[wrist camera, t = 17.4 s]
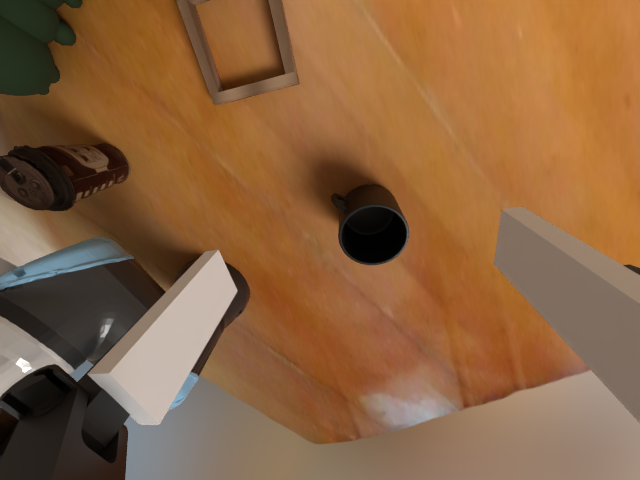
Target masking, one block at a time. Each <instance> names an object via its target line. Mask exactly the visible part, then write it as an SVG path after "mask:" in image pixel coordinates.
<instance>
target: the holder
mask: <svg viewBox="0 0 640 480" xmlns="http://www.w3.org/2000/svg"><path fill="white" fill-rule="evenodd" d="M176 1H177V4H178V7H179V10H180V12H181V15H182V18H183V21H184V24H185V26H186V29H187V32H188V35H189V37H190V40H191V43H192V46H193V48H194V51H195V54H196V57H197V60H198V62H199V65H200V68H201V71H202V73H203V76H204V79H205V82H206V84H207V87H208V90H209V93H210V96H211V98H212V101H213V104H214V105H221V104H225V103H228V102H232V101H236V100H240V99H244V98H247V97H251V96H255V95H259V94H263V93H267V92H270V91H274V90H278V89H282V88H286V87H289V86H293V85H297V84H299V79H298V75H297V70H296V65H295V60H294V56H293V51H292V46H291V41H290V37H289V32H288V27H287V22H286V18H285V13H284V8H283V3H282V0H268V1H269V5H270V9H271V14H272V18H273V22H274V27H275V31H276V35H277V40H278V44H279V48H280V53H281V57H282V61H283V66H284V70H285V74H284V75H281V76H277V77H273V78H270V79H266V80H262V81H259V82H255V83H251V84H247V85H244V86H240V87H236V88H233V89H229V90H225V91H224V90H223V87H222V84H221V81H220V78H219V75H218V72H217V69H216V66H215V63H214V60H213V57H212V54H211V51H210V48H209V45H208V42H207V39H206V36H205V33H204V30H203V27H202V24H201V21H200V18H199V15H198V12H197V9H196V6H195V5H197V4H200V3H203V2H206V1H209V0H176Z"/></svg>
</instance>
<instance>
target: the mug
mask: <svg viewBox="0 0 640 480" xmlns="http://www.w3.org/2000/svg"><path fill="white" fill-rule="evenodd" d="M331 200H332V202H333V204H334V205H335V206H336V207H337V208H338V209H339V210H340V218H339V233H338V237H339V243H340V246H341V248H342V250H343V251H344V253H345V254H346V255H347V256H348V257H349V258H351V259H352V260H354V261H356V262H358V263H361V264H365V265H379V264H383V263H386V262H389V261H391V260H393V259H394V258H396V257H397V256H398V255H399V254H400V253H401V252H402V251H403V249H404V248H405V246H406V244H407V242H408V238H409V227H408V224H407V221H406V219H405V217H404V216H403V214H402V212H401V210H400V208H399V206H398V204H397V202H396V200H395V198H394V196H393V195H392V194H391V193H390V192H389V191H388V190H387V189H385V188H383V187H381V186H377V185H363V186H360V187H357V188H355V189H354V190H352V191H351V192H350V193H348V194H347V196H346V197H343V196H341V195H339V194H336V193H334V194H333V195H332V196H331ZM338 200H340V201H341V202H342V204H341V203H340V202H339V201H338Z"/></svg>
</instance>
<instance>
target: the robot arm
mask: <svg viewBox="0 0 640 480" xmlns="http://www.w3.org/2000/svg"><path fill="white" fill-rule="evenodd" d="M494 265H495V266H496V267H497V268H498V269H499V270H500V271H501V272H502V273H503V275H504V276H505V277H506V278H507V279H508V280H509V281H510V282H511V283H512V284H513V285H514V286H515V288H516V289H517V290H518V291H519V292H520V293H521V294H522V295H523V296H524V297H525V298H526V300H527V301H528V302H529V303H530V304H531V305H532V306H533V307H534V308H535V309H536V310H537V312H538V313H539V314H540V315H541V316H542V317H543V318H544V319H545V320H546V321H547V322H548V324H549V325H550V326H551V327H552V328H553V329H554V330H555V331H556V332H557V333H558V334H559V336H560V337H561V338H562V339H563V340H564V341H565V342H566V343H567V344H568V345H569V346H570V348H571V349H572V350H573V351H574V352H575V353H576V354H577V355H578V356H579V357H580V358H581V360H582V361H583V362H584V363H585V364H586V365H587V366H588V367H589V368H590V369H591V370H592V372H593V373H594V374H595V375H596V376H597V377H598V378H599V379H600V380H601V381H602V382H603V383H604V385H605V386H606V387H607V388H608V389H609V390H610V391H611V392H612V393H613V394H614V395H615V396H616V398H617V399H618V400H619V401H620V402H621V403H622V404H623V405H624V406H625V407H626V409H627V410H629V412H630V413H631V414H632V415H633V416H634V417H635V418H636V419H637V421H638V422H639V423H640V268H638V267H635V266H632V265H621V264H620V263H618V262H616V261H615V260H613V259H611V258H609V257H608V256H606V255H604V254H603V253H601V252H599V251H597V250H596V249H594V248H592V247H591V246H589V245H587V244H585V243H584V242H582V241H580V240H579V239H577V238H575V237H573V236H572V235H570V234H568V233H567V232H565V231H563V230H562V229H560V228H558V227H556V226H555V225H553V224H551V223H550V222H548V221H546V220H544V219H543V218H541V217H539V216H538V215H536V214H534V213H532V212H531V211H529V210H527V209H526V208H524V207H516V208H509V209H502V211H501V218H500V225H499V232H498V239H497V245H496V252H495V259H494ZM249 298H250V290H249V287H248V284H247V282H246V280H245V279H244V277H243V276H242V275H241V274H240V273H239V272H238V271H237V270H236V269H234V268H233V267H231V266H230V265H228V264H226V263H224V261H223V258H222V256H221V254H220V252H219V250H213V251H206V252H204V253H203V254H202V255H201V256H200V258H199V259H197V260H194V261H191V262H190V263H188V264H187V265H186V266H185V267H184V268H183V269H182V270H181V271H180V272H179V273H178V275H177V277H176V279H175V282H174V285H173V286H172V287H171V288H170V289H169V290H168V291H167V292H165V291H164V290H163V289H162V288H161V287H160V286H159V285H158V283H157V282H156V281H155V280H154V279H153V278H152V277H151V276H150V275H149V274H148V273H147V272H146V271H145V270H144V269H143V268H142V267H141V266H140V264H139V263H138V262H137V261H136V260H135V257H134V256H132V255H130V254H129V253H128V252H126V251H125V250H124V249H123V248H122V247H121V246H120V245H119V244H118V243H117V242H116V241H114V240H112V239H110V238H106V237H97V238H92V239H89V240H86V241H83V242H80V243H77V244H75V245H72V246H69V247H67V248H64V249H61V250H59V251H56V252H54V253H51V254H49V255H46V256H44V257H41V258H39V259H36V260H34V261H31V262H29V263H27V264H25V265H23V266H20V267H18V268H15V269H13V270H11V271H8V272H5V273H3V274H1V275H0V480H125V472H126V456H127V441H128V430H127V427H126V426H125V425H124V422H125V421H126V419H127V418H128V417H129V415H130V416H131V417H132V418H133V419H134V420H135V421H137V422H138V423H139V424H140V425H159V424H160V423H161V421H162V419H163V418H164V416H165V414H166V413H167V411H168V410H170V409H173V408H175V407H177V406H178V405H179V404H181V403H182V402H183V401H184V399H185V398H186V396H187V395H188V393H189V391H190V390H191V389H192V387H193V385H194V384H195V383H196V382H197V380H198V378H199V375H200V373H201V371H202V369H203V367H204V365H205V364H206V362H207V360H208V358H209V356H210V354H211V352H212V351H213V349H214V347H215V345H216V343H217V341H218V339H219V338H220V336H221V334H222V332H223V330H224V329H225V328H226V327H227V326H228V325H229V324H230V323H231V322H232V321H233V320H234V319H235V318H237V317H238V316H239V315H240V314H241V313H242V312H243V311H244V309H245V307H246V305H247V303H248V301H249ZM86 360H88V361H89V362H91V363H92V364H93V365H94V366H93V367H92V368H91V369H90V370H89V371H88V372H87V373H86V374H85V375H84V376H83V377H82V378H81V379H80V380H79V381H78V382H76V381H75V380H74V379H73V378H72V377H71V376H70V375H69V373H72V372H73V371H74V370H75V369H77V367H79V366H80V365H81V364H82V363H83V362H85V361H86Z"/></svg>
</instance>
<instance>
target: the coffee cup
mask: <svg viewBox="0 0 640 480" xmlns="http://www.w3.org/2000/svg"><path fill="white" fill-rule="evenodd" d="M129 174H130V165H129V163H128V161H127V159H126V158H125V156H124V155H123V154H122V153H121V152H120V151H119V150H117V149H116V148H114V147H112V146H110V145H107V144H100V145H83V144H82V145H67V146H65V145H56V146H42V147H39V148H31V147H29V146H26V145H25V146H23V147H22V146H20V147H17V146H15V147H14V150H11V151H10V152H9V153H8V155H7V156H5V155H4V156H0V186H1V188H2V190H3V191H5V192H6V193H7V194H8V195H9V196H10V197H12V198H13V199H14V200H15V201H17V202H18V203H20V204H21V205H23V206H25V207H28V208H31V209H34V210H50V211H64V210H68V209H70V208H71V207H72V206H73V204H74V203H75V202H77V201H79V200H80V199H83V198H86V197H88V196H90V195H92V194H94V193H96V192H98V191H100V190H104V189H106V188H109V187H111V186H112V185H113V184H116V183H122V182H124V181H125V180H126V179H127V178H128V176H129Z"/></svg>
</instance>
